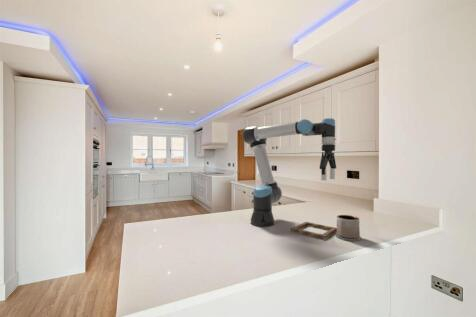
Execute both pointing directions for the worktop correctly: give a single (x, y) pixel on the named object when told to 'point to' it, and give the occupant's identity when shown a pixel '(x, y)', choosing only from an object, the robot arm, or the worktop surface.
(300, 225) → the holder frame
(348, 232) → the planter
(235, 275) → the worktop surface
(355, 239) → the slate trivet
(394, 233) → the worktop surface
